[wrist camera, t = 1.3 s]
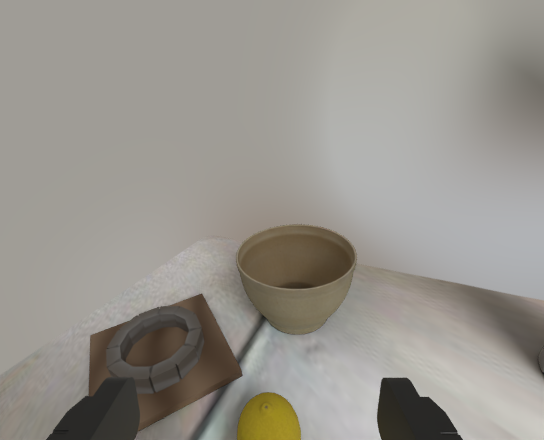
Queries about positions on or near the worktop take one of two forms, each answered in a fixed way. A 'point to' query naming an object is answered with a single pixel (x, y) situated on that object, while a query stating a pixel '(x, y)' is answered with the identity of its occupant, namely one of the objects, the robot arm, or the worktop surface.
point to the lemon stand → (165, 357)
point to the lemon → (268, 419)
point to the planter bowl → (296, 274)
